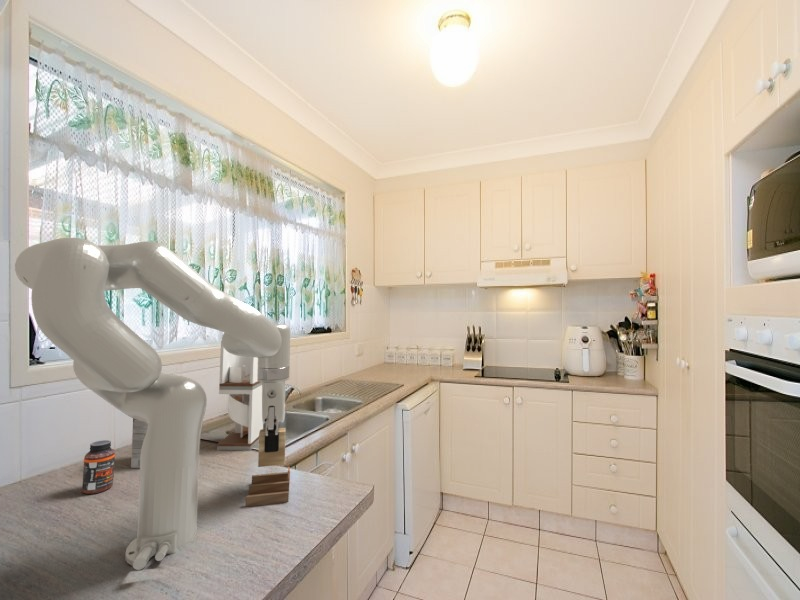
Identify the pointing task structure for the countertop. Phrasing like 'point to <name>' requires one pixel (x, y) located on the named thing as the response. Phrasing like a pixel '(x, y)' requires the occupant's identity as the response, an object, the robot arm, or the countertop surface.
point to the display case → (241, 400)
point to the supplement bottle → (98, 467)
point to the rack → (269, 489)
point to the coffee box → (137, 441)
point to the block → (271, 457)
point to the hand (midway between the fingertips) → (272, 448)
